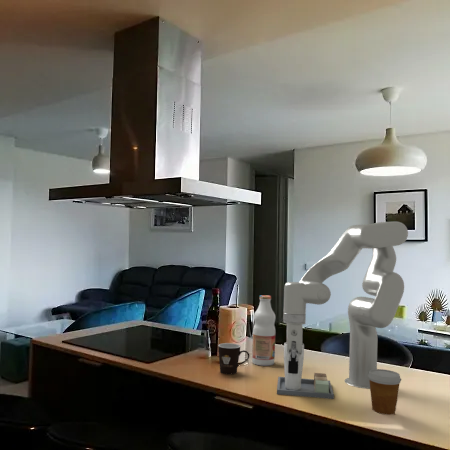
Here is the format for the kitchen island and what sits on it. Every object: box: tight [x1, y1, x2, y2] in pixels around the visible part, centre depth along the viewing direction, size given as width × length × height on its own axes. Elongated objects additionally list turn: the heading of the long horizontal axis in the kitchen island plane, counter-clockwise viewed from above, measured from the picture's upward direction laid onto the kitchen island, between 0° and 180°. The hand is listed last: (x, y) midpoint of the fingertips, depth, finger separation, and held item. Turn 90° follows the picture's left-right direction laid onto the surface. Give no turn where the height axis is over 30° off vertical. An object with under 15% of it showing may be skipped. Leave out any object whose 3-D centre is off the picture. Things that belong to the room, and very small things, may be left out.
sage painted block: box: [315, 380, 329, 393], centre depth 145 cm, size 4×4×4 cm
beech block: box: [315, 376, 329, 383], centre depth 150 cm, size 4×4×4 cm
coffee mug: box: [217, 342, 250, 375], centre depth 171 cm, size 12×9×10 cm
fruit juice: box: [251, 295, 276, 367], centre depth 187 cm, size 9×9×28 cm
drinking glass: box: [283, 341, 305, 390], centre depth 151 cm, size 7×7×15 cm
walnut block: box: [313, 372, 328, 388], centre depth 154 cm, size 4×4×4 cm
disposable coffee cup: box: [368, 368, 402, 416], centre depth 134 cm, size 10×10×12 cm
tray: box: [276, 376, 335, 400], centre depth 151 cm, size 18×15×2 cm
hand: (292, 369), depth 151 cm, fingers open, 9 cm apart
